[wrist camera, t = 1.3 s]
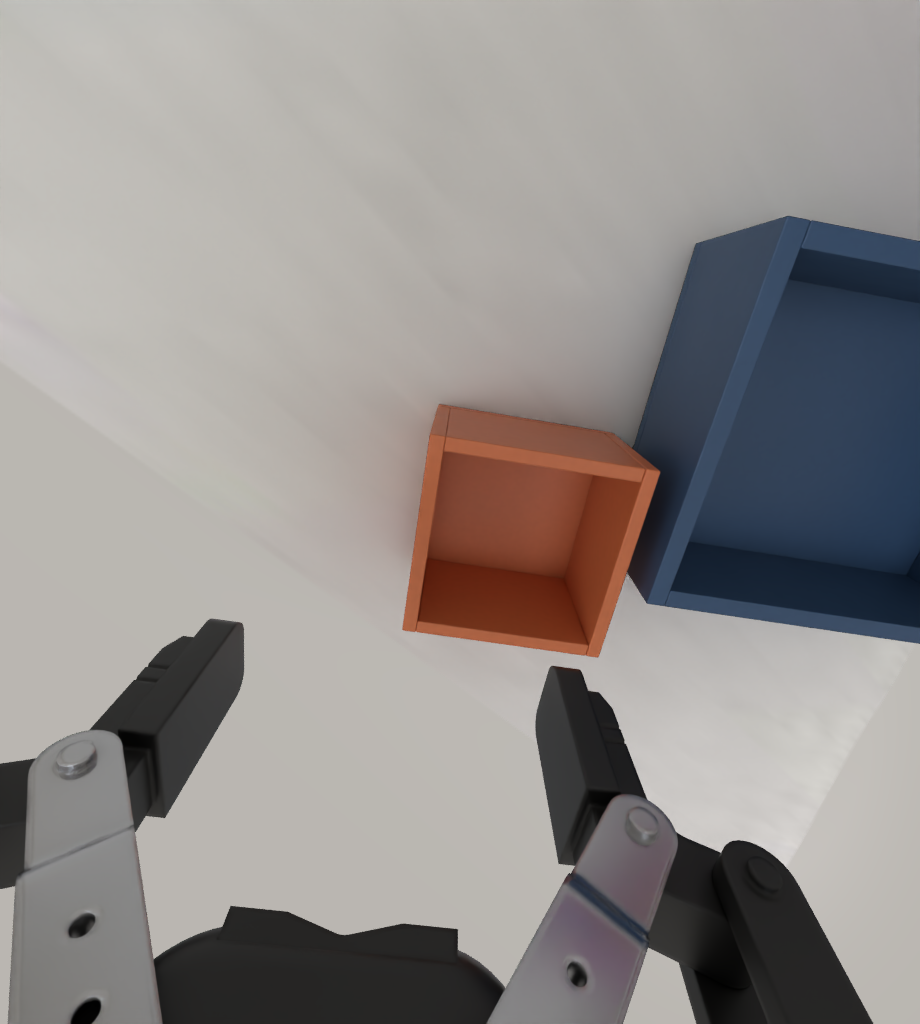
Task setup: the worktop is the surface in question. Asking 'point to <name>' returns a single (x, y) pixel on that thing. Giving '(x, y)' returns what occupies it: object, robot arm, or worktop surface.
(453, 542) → the small bin
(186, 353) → the worktop surface
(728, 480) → the big bin
